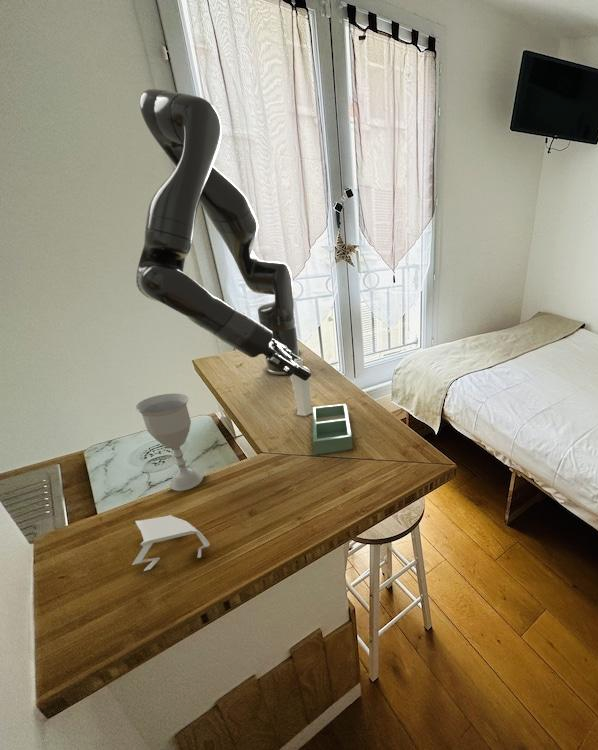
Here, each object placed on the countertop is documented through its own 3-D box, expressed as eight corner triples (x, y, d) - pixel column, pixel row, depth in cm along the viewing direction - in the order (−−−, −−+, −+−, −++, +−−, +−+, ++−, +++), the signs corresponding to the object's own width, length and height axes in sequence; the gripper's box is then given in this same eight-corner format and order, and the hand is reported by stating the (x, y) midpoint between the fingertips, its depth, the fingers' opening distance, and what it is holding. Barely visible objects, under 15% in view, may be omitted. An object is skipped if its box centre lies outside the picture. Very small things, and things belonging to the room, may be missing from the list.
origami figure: (113, 578, 59) (102, 555, 57) (147, 533, 66) (138, 511, 64) (204, 570, 61) (196, 548, 59) (227, 528, 69) (221, 507, 67)
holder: (313, 419, 101) (312, 407, 100) (347, 415, 104) (346, 403, 103) (314, 454, 89) (313, 441, 87) (352, 449, 92) (351, 436, 90)
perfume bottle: (318, 408, 106) (312, 357, 99) (309, 417, 102) (302, 364, 95) (301, 406, 106) (294, 355, 99) (292, 414, 102) (284, 362, 95)
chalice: (159, 498, 73) (130, 415, 66) (166, 475, 79) (140, 396, 71) (207, 488, 77) (185, 408, 69) (211, 467, 82) (191, 391, 74)
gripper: (259, 330, 83) (322, 370, 95) (250, 311, 93) (308, 349, 105) (234, 357, 83) (300, 394, 94) (228, 335, 93) (288, 370, 104)
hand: (304, 370), depth 99 cm, fingers open, 8 cm apart
